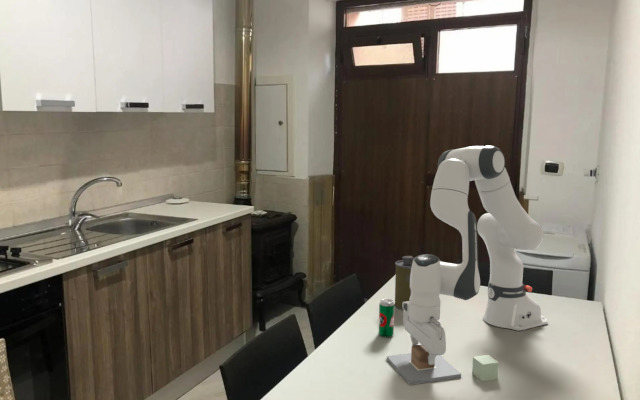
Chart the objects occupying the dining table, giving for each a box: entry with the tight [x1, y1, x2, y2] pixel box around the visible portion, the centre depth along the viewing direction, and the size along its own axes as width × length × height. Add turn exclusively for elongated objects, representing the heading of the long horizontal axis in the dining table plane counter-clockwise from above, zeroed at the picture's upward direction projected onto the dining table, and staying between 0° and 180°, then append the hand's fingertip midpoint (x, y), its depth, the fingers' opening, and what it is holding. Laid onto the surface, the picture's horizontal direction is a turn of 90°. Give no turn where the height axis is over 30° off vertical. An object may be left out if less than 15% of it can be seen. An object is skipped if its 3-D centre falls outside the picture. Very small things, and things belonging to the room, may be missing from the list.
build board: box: [386, 352, 462, 386], centre depth 152 cm, size 16×16×1 cm
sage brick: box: [471, 354, 499, 382], centre depth 148 cm, size 5×5×5 cm
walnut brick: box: [410, 344, 435, 369], centre depth 152 cm, size 5×5×5 cm
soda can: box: [378, 298, 395, 338], centre depth 175 cm, size 5×5×12 cm
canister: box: [394, 255, 415, 311], centre depth 202 cm, size 11×10×20 cm
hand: (422, 356), depth 152 cm, fingers open, 8 cm apart
